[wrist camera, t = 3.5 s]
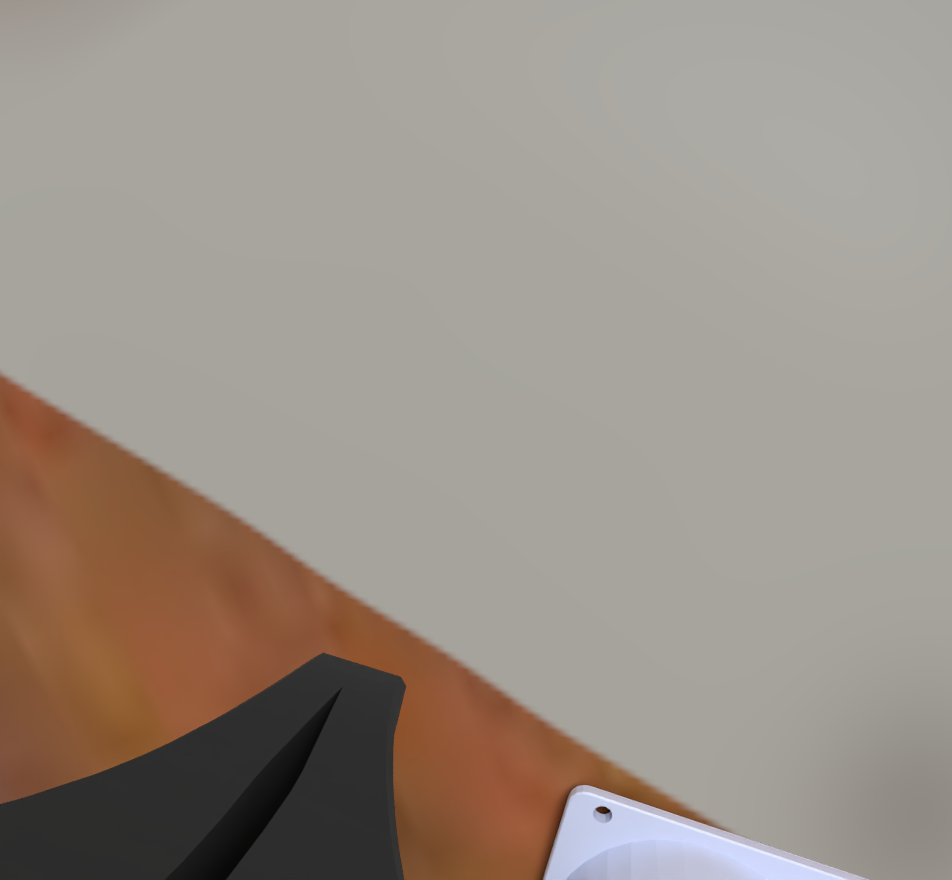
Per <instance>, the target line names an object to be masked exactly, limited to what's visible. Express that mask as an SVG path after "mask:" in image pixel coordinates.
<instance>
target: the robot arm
mask: <svg viewBox="0 0 952 880" xmlns="http://www.w3.org/2000/svg"><path fill="white" fill-rule="evenodd" d="M405 689H406V685H405V683H404V682H403V680H402V678H401V677H399V676H396V675H393V674H390V673H387V672H383V671H380V670H377V669H374V668H370V667H367V666H364V665H361V664H358V663H354V662H351V661H348V660H345V659H341V658H338V657H335V656H332V655H329V654H325V653H322V654H320V655H318V656H316V657H315V658H313V659H311V660H310V661H308V662H307V663H305V664H304V665H302V666H301V667H299V668H298V669H296V670H295V671H293V672H292V673H290V674H289V675H287V676H285V677H284V678H282V679H281V680H279V681H278V682H276V683H275V684H273V685H271V686H270V687H268V688H267V689H265V690H264V691H262V692H260V693H259V694H257V695H255V696H254V697H252V698H250V699H249V700H247V701H245V702H244V703H242V704H240V705H238V706H237V707H235V708H233V709H232V710H230V711H228V712H227V713H225V714H223V715H221V716H220V717H218V718H216V719H214V720H212V721H210V722H209V723H207V724H205V725H203V726H201V727H199V728H197V729H195V730H193V731H191V732H189V733H187V734H186V735H184V736H182V737H180V738H178V739H176V740H174V741H172V742H170V743H168V744H166V745H164V746H162V747H160V748H157V749H155V750H153V751H151V752H149V753H147V754H144V755H142V756H140V757H137V758H135V759H132V760H130V761H128V762H125V763H123V764H120V765H118V766H115V767H113V768H110V769H108V770H105V771H103V772H100V773H97V774H95V775H92V776H89V777H86V778H83V779H80V780H77V781H73V782H70V783H67V784H64V785H61V786H58V787H55V788H52V789H49V790H46V791H43V792H40V793H37V794H34V795H31V796H28V797H25V798H21V799H18V800H14V801H11V802H7V803H3V804H0V880H404V877H403V871H402V865H401V859H400V853H399V846H398V838H397V829H396V820H395V807H394V792H393V743H394V733H395V729H396V725H397V721H398V717H399V713H400V709H401V705H402V701H403V697H404V693H405ZM599 806H605V807H607V808H608V809H610V812H609V813H607V814H600V813H599V812H597V811H596V810H595V808H597V807H599ZM542 880H869V879H866V878H863V877H860V876H857V875H854V874H851V873H848V872H845V871H842V870H839V869H836V868H833V867H830V866H827V865H824V864H821V863H818V862H816V861H813V860H809V859H807V858H804V857H801V856H798V855H794V854H792V853H789V852H786V851H783V850H780V849H777V848H774V847H771V846H768V845H765V844H762V843H759V842H756V841H753V840H750V839H747V838H744V837H741V836H738V835H735V834H732V833H729V832H726V831H723V830H720V829H717V828H714V827H711V826H708V825H705V824H702V823H699V822H696V821H693V820H690V819H687V818H684V817H681V816H678V815H675V814H672V813H670V812H667V811H664V810H661V809H658V808H655V807H652V806H649V805H646V804H643V803H640V802H637V801H634V800H631V799H628V798H625V797H622V796H619V795H616V794H613V793H610V792H607V791H604V790H601V789H598V788H595V787H592V786H587V785H581V786H577V787H575V788H574V789H572V790H571V792H570V794H569V796H568V799H567V802H566V805H565V809H564V812H563V815H562V818H561V821H560V825H559V828H558V831H557V834H556V838H555V841H554V844H553V847H552V850H551V854H550V857H549V860H548V863H547V867H546V870H545V873H544V876H543V879H542Z"/></svg>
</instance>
